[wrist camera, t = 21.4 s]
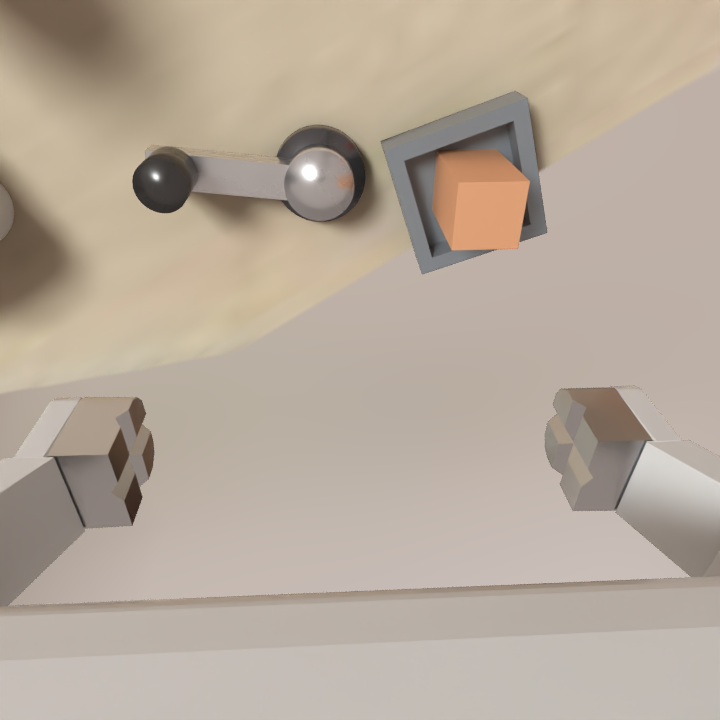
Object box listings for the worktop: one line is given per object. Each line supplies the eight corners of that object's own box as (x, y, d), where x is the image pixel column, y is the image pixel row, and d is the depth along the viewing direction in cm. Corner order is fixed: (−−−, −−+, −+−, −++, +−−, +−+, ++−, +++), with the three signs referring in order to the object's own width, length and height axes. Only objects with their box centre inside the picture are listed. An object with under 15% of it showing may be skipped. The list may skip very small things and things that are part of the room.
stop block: (496, 149, 36) (529, 181, 30) (488, 208, 38) (517, 248, 32) (436, 150, 36) (458, 182, 30) (432, 209, 38) (451, 250, 32)
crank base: (346, 110, 34) (347, 114, 33) (375, 198, 38) (376, 204, 37) (259, 144, 35) (258, 148, 34) (295, 227, 39) (295, 233, 38)
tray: (515, 90, 34) (527, 97, 32) (535, 219, 39) (547, 232, 37) (380, 141, 36) (384, 150, 34) (416, 259, 41) (422, 274, 39)
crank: (356, 147, 34) (360, 167, 31) (349, 214, 37) (352, 240, 33) (149, 125, 33) (127, 144, 29) (156, 197, 35) (137, 222, 32)
